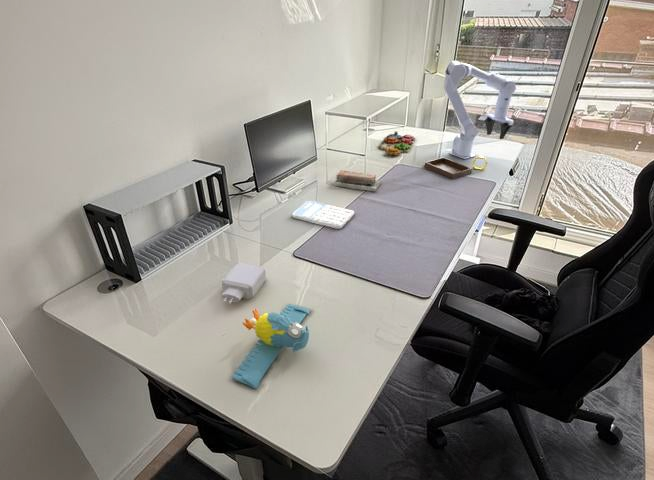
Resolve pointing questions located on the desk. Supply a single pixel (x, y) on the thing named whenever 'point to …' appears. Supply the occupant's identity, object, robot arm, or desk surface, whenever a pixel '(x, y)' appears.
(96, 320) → the desk surface
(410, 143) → the gear puzzle
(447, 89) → the robot arm
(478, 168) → the watch
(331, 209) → the calculator
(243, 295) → the charger
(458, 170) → the tray
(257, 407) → the desk surface
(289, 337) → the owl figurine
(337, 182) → the packaged product
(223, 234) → the desk surface
